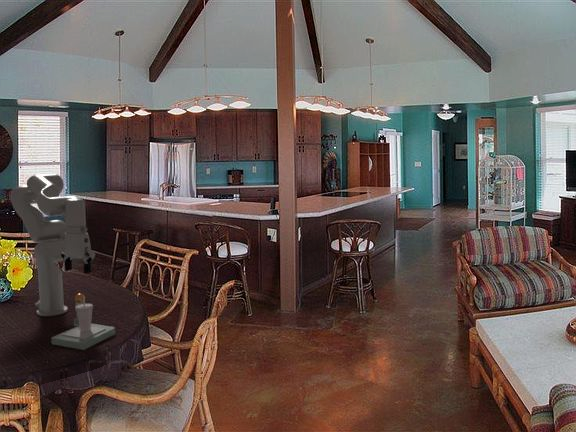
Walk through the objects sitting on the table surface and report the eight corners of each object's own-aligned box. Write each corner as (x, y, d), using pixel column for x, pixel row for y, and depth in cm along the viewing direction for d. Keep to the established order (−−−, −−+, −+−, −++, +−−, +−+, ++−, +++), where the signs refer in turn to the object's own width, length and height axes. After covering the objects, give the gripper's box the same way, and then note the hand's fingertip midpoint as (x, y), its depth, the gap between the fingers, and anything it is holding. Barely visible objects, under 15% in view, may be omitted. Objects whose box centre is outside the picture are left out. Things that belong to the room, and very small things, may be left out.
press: (38, 341, 200) (37, 333, 200) (79, 323, 219) (78, 316, 219) (83, 349, 192) (83, 342, 192) (121, 330, 212) (121, 323, 211)
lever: (73, 323, 216) (72, 294, 214) (81, 320, 219) (79, 291, 218) (81, 324, 214) (79, 295, 213) (88, 321, 218) (87, 292, 216)
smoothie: (76, 334, 199) (74, 298, 197) (76, 329, 205) (74, 293, 203) (95, 332, 202) (93, 296, 200) (93, 326, 208) (91, 291, 206)
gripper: (100, 229, 212) (101, 271, 214) (66, 226, 218) (68, 267, 221) (86, 233, 205) (88, 276, 208) (51, 229, 211) (54, 271, 214)
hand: (78, 271), depth 214 cm, fingers open, 9 cm apart
